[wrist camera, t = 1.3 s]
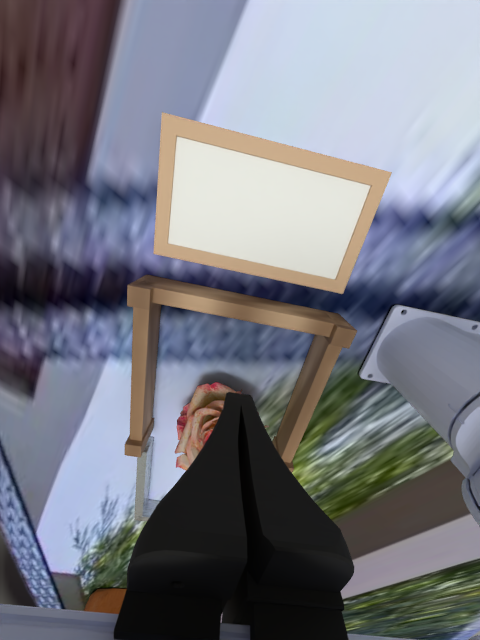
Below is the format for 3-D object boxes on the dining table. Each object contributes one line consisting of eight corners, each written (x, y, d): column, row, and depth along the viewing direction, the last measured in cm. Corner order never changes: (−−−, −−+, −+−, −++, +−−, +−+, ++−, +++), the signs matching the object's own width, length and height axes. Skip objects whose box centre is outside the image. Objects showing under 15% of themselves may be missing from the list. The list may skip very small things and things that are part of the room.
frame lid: (385, 174, 16) (391, 172, 16) (339, 291, 20) (342, 293, 19) (165, 117, 15) (161, 112, 15) (156, 252, 19) (153, 253, 18)
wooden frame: (338, 313, 21) (357, 331, 17) (283, 447, 28) (289, 478, 24) (146, 274, 19) (127, 285, 16) (139, 426, 26) (124, 455, 23)
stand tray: (274, 455, 28) (277, 471, 26) (250, 516, 33) (251, 533, 32) (144, 435, 27) (137, 451, 25) (140, 502, 32) (134, 519, 30)
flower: (283, 436, 25) (284, 463, 18) (218, 479, 25) (193, 524, 18) (238, 365, 27) (223, 364, 20) (180, 406, 27) (144, 419, 20)
